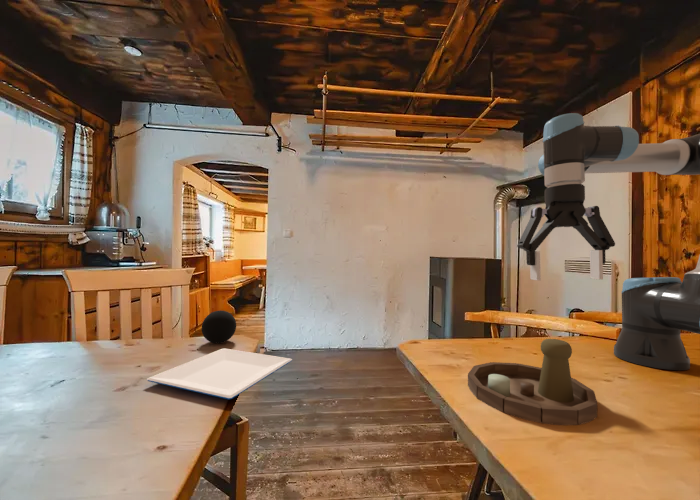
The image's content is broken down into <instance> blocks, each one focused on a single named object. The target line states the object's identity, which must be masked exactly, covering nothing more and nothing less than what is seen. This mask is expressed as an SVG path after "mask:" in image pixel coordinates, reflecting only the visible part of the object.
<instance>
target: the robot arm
mask: <svg viewBox="0 0 700 500" xmlns="http://www.w3.org/2000/svg"><path fill="white" fill-rule="evenodd" d="M584 124H585V121H584V117H583V115H582V114H580V113H578V112H573V113H564V114H559V115H558V116H555V117H552V118H551V119H549V120H547V121H546V122H545V124H544V127H543V133H542V136H543V137H542V143H543V148H542V149H543V154H542V155H541V156H540V158H539V159H538V165H537V167H538V171H539V172H540V174H541V175H542V176H544V187H546V188H545V189H544V204H545V208H542V207H541V206H539V207H534V208H531V210H530V217H529V219H528V222H527V225H526V226H525V228H524V230H523V232H522V234H521V236H520V239H519V240H518V243H517V244H516V245H517V246H516V247H517V248H518V249H521V250H523V251H524V252H525V253H526V265H527V266H529V267H530V269H529V274H530V275H529V277H530V278H529V279H530V280H532V281H533V280H534V281H541V251H540V250H537V249H538V248H539V246H541V244H542V243H543V242H544V241H545V239H546V238H548V236H549V235H550V234H551V232H552V231H553V230H554V229H556V228H562V227H564V228H570V227H571V228H573V229H575V230H576V231H577V232H578V234H580V235H581V236H582V237H583V238H584V240H585V241H586V242H587V243H588V244H589V245H590V246H591V247H592V249H590V250H589V269H590V270H589V273H590V275H589V277H590V279H594V280H604V269H603V268H604V267H603V266H604V265H605V264H606V259H607V258H606V251H609V250H610V248H611V247H615V246H616V242H615V240H614V239H613V237H612V234H611V233H610V231H609V230H608V227H607V226H606V224H605V222H604V220H603V218H602V216H601V212H600V207H599V206H598V205H594V206H589V207H585V206H584V203H585V201H586V186H585V185H584V184H583V183H585V182H586V181H585V180H586V177H585V176H586V174H613V173H616V174H617V173H618V174H620V173H648V172H649V173H651V172H652V173H653V172H654V173H657V174H659V175H663V176H673V175H674V176H675V175H676V176H679V175H681V176H683V175H684V176H686V175H687V176H688V175H689V176H697V175H698V176H699V175H700V133H698V134H695V135H690V136H688V137H682V138H673V139H668V140H665V141H664V142H661V143H660V142H659V143H654V142H653V143H640V141H639V140H640V138H639V137H640V136H639V132H638V131H637V130H636V129H634V128H633V127H631V126H621V125H612V126H611V125H608V126H607V125H606V126H605V125H602V126H597V125H596V126H594V125H593V126H591V125H584ZM544 216H545V218H546V220H545V222H544V223H543V224H542V227H541V228H540V229H539V230H538V232H537V233H536V231H537V229H538V227H539V226H540V225H539V224H540V223H541V220H542V218H543V217H544ZM584 216H585V217H586V219H587V220H586V219H585V218H584ZM587 221H588V222H587ZM590 226H591V227H590ZM682 279H683V280H682ZM682 279H681V278H680V277H673V276H672V277H671V276H665V277H664V276H663V277H662V276H659V277H632V278H631V277H630V278H627V279H625V280H624V281H623V283H622V290H621V331H620V333H619V335H618V337H617V339H616V342H615V344H614V346H613V355H614V356H615V357H617V358H618V359H621V360H623V361H626V362H629V363H631V364H636V365H640V366H645V367H649V368H655V369H661V370H662V369H663V370H666V371H667V370H668V371H669V370H670V371H686V370H690V368H691V358H690V357H689V355H688V353H687V351H686V348H685V345H684V342H683V340H682V337H681V331H686V332H689V333H690V332H691V333H694V334H700V255H698V259H697V262H696V266H695V268H694V269H693V270H690V271H687V272H686V273H684V275H683V278H682Z"/></svg>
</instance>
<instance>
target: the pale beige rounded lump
mask: <svg viewBox="0 0 700 500" xmlns="http://www.w3.org/2000/svg"><path fill="white" fill-rule="evenodd" d="M488 388H489V389H491V390H493V391H495V392H497V393H499V394H502V395H504V396H506V397H509V396H510V379H509V378H508V377H506V376H504V375H499V374H490V375H488Z"/></svg>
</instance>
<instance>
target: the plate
mask: <svg viewBox="0 0 700 500" xmlns="http://www.w3.org/2000/svg"><path fill="white" fill-rule="evenodd" d="M292 361H293V359H292V358H289V357H282V356H275V355H269V354H264V353H258V352H257V353H256V352H253V351H251V352H250V351H244V350H238V349H232V348H231V349H230V348H225V347H224V348H221V349H218V350H215V351H213V352H210V353H208V354H205V355H202V356H200V357H197V358H195V359H192V360H190V361H187V362H184V363H182V364H179V365H177V366H175V367H172V368H169V369H167V370H164V371H162V372H160V373H157V374H155V375H151V376H150V377H148V378H146V381H147V382H150V383H154V384H160V385H164V386H169V387H172V388H176V389H180V390H186V391H189V392H190V391H191V392H194V393H199V394H202V395H203V394H204V395H208V396H210V397H211V396H212V397H215V398H216V397H217V398H221V399H225V400H232V399H234V398H236V397H237V396H239V395H240V394H242V393H243V392H245V391H247V390H248V389H250V388H251V387H253V386H255V385H256V384H258V383H259V382H261V381H262V380H264V379H266V378H267V377H269V376H270V375H272V374H274V373H275V372H277V371H278V370H280V369H282V368H283V367H285V366H286V365H288V364H290V363H291V362H292Z"/></svg>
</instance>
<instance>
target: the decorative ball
mask: <svg viewBox="0 0 700 500" xmlns="http://www.w3.org/2000/svg"><path fill="white" fill-rule="evenodd" d="M236 330H237V321H236V319H235V316H233V314H231V312H229V311H227V310H215V311H212V312H210V313H209V314H208V315H206V316H205V318H204V319H203V321H202V324H201V333H202V335H203V337H204V339H205V340H207V341H208V342H210V343H213V344H223V343H225V342H227V341H229V340H230V339H231V338H232V337H233V336H234V335H235V332H236Z"/></svg>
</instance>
